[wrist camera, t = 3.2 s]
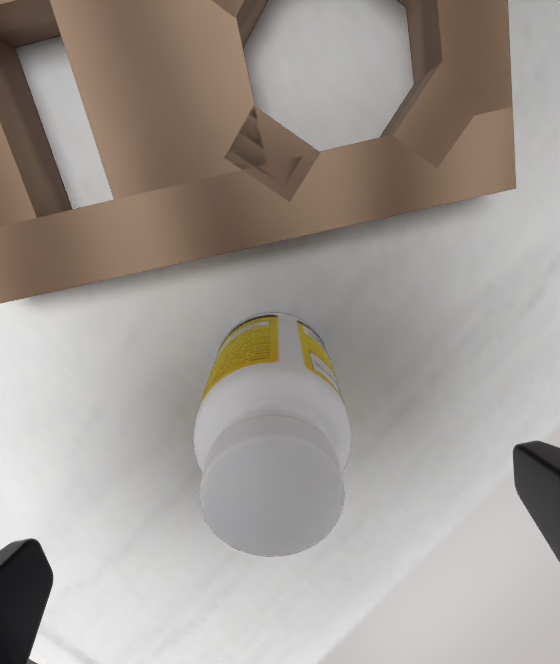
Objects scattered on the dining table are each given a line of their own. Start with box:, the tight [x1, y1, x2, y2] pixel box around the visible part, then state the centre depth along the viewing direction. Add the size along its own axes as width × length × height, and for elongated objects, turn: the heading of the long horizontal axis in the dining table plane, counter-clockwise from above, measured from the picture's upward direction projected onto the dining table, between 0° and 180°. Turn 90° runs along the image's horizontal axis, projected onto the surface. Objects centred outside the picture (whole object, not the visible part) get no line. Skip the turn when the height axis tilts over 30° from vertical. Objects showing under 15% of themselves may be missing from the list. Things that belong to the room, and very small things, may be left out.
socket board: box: [0, 0, 516, 303], centre depth 16 cm, size 21×12×3 cm, turn 102°
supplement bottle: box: [193, 313, 352, 557], centre depth 16 cm, size 5×5×10 cm
